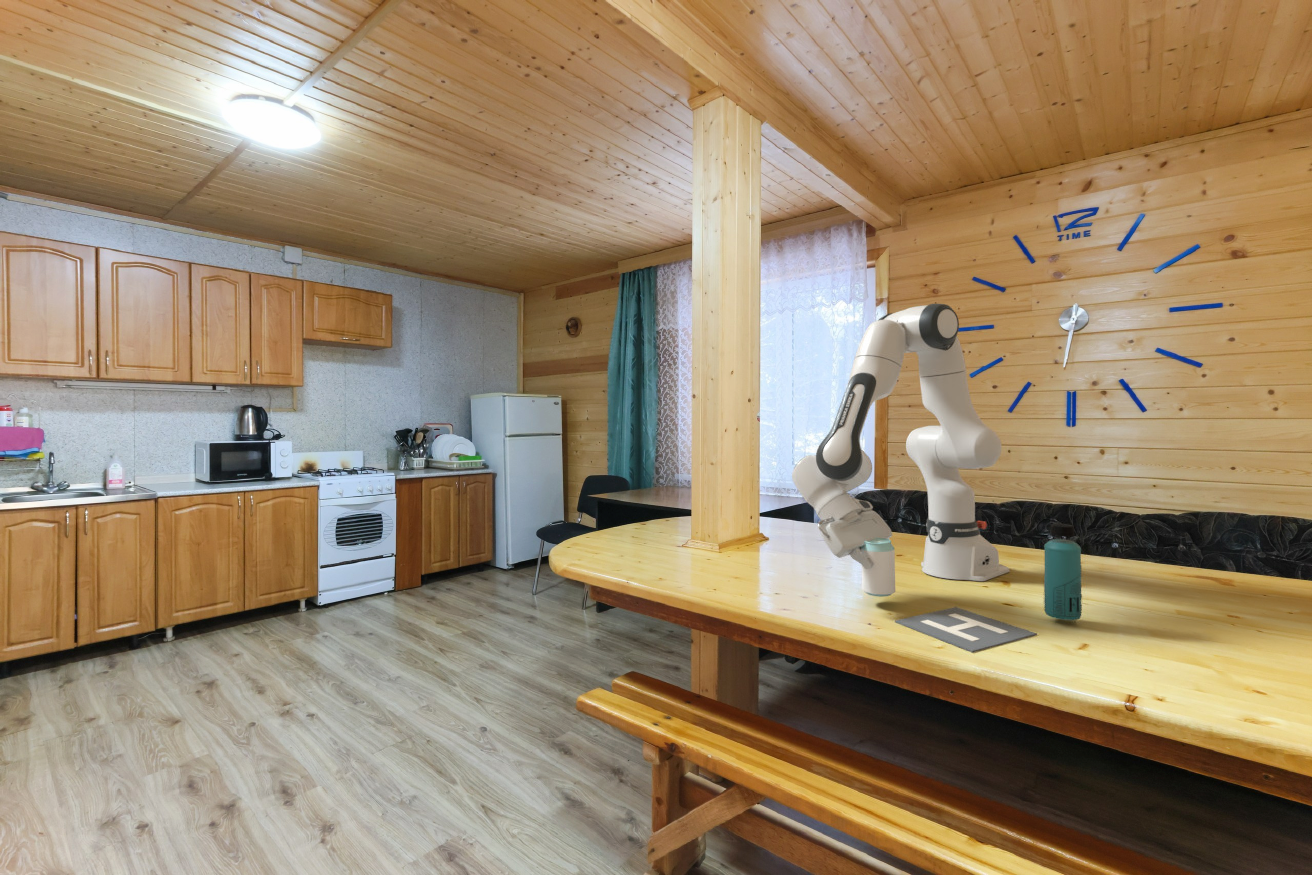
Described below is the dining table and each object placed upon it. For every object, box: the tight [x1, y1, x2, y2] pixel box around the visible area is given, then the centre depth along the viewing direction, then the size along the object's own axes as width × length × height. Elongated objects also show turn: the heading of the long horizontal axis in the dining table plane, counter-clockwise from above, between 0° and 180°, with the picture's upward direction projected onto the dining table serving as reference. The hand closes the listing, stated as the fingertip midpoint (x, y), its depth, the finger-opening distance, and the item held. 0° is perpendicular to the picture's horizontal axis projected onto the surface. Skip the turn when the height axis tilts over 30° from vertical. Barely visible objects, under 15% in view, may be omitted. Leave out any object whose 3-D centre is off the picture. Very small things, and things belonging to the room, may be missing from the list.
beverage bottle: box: [1043, 523, 1083, 621], centre depth 123 cm, size 6×7×20 cm
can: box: [860, 538, 896, 598], centre depth 137 cm, size 7×7×12 cm
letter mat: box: [894, 606, 1038, 653], centre depth 121 cm, size 18×18×1 cm
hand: (880, 563), depth 136 cm, fingers closed on can, 7 cm apart
